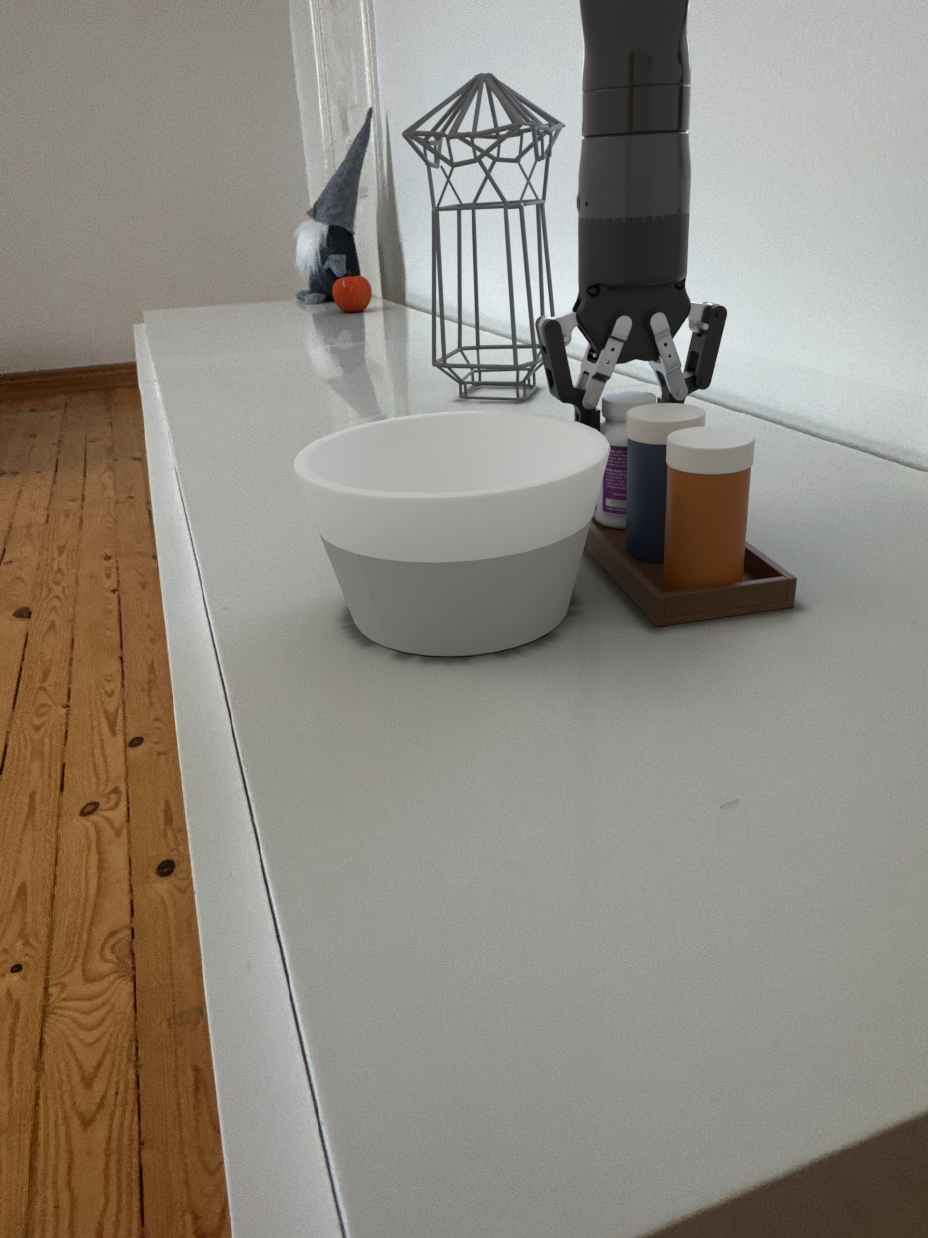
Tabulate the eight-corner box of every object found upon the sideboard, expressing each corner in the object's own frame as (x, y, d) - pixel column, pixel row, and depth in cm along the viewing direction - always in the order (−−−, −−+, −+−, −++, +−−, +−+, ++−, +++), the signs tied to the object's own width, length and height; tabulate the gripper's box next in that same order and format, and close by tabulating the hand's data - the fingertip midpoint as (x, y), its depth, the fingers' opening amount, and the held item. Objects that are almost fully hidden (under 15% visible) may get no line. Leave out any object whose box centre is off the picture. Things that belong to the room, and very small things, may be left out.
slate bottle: (680, 533, 72) (686, 399, 68) (710, 558, 67) (718, 416, 63) (613, 542, 71) (615, 407, 67) (639, 568, 66) (643, 424, 62)
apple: (363, 314, 192) (359, 271, 189) (327, 314, 195) (322, 272, 192) (380, 308, 199) (376, 267, 196) (345, 308, 202) (341, 268, 198)
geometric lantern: (542, 410, 111) (534, 61, 96) (415, 407, 116) (389, 75, 101) (572, 381, 124) (570, 71, 110) (457, 380, 129) (440, 82, 114)
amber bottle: (721, 568, 66) (731, 422, 61) (757, 597, 61) (770, 442, 57) (649, 577, 65) (653, 430, 60) (680, 608, 60) (687, 452, 56)
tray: (664, 504, 79) (664, 481, 79) (794, 607, 61) (797, 577, 60) (556, 517, 78) (556, 494, 77) (656, 627, 59) (657, 597, 58)
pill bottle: (676, 519, 75) (682, 394, 70) (625, 536, 72) (628, 407, 68) (628, 503, 79) (630, 384, 74) (578, 518, 76) (578, 396, 72)
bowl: (661, 642, 57) (668, 466, 53) (341, 704, 53) (318, 517, 48) (545, 538, 74) (543, 397, 69) (295, 578, 69) (274, 430, 65)
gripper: (547, 218, 61) (551, 476, 68) (757, 203, 64) (739, 454, 71) (517, 214, 68) (524, 449, 75) (708, 201, 70) (697, 430, 77)
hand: (628, 450), depth 73 cm, fingers closed on pill bottle, 5 cm apart
